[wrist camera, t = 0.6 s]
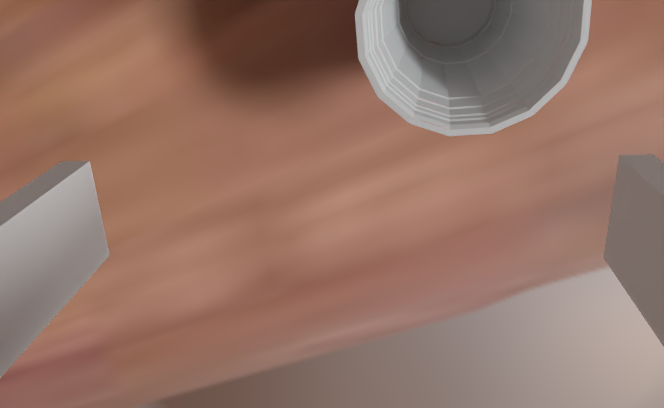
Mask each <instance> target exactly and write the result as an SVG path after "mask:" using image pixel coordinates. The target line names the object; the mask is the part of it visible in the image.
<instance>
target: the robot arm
mask: <svg viewBox="0 0 664 408" xmlns="http://www.w3.org/2000/svg"><path fill="white" fill-rule="evenodd" d="M109 256H110V255H109V250H108V246H107V241H106V236H105V231H104V227H103V222H102V217H101V212H100V208H99V203H98V198H97V193H96V189H95V184H94V179H93V174H92V170H91V165H90V161H61V162H60V163H58V164H57V165H55V166H54V167H52V168H51V169H49V170H48V171H46V172H45V173H43V174H42V175H40V176H39V177H37V178H36V179H34V180H33V181H31V182H30V183H28V184H27V185H25V186H24V187H22V188H21V189H19V190H18V191H16V192H15V193H13V194H12V195H10V196H9V197H7V198H6V199H4V200H3V201H1V202H0V378H1V377H2V376H3V374H4V373H5V372H6V371H7V370H8V369H9V368H10V367H11V365H12V364H13V363H14V362H15V361H16V360H17V359H18V358H19V356H20V355H21V354H22V353H23V352H24V351H25V350H26V349H27V348H28V346H29V345H30V344H31V343H32V342H33V341H34V340H35V339H36V337H37V336H38V335H39V334H40V333H41V332H42V331H43V330H44V328H45V327H46V326H47V325H48V324H49V323H50V322H51V321H52V320H53V318H54V317H55V316H56V315H57V314H58V313H59V312H60V311H61V309H62V308H63V307H64V306H65V305H66V304H67V303H68V302H69V300H70V299H71V298H72V297H73V296H74V295H75V294H76V293H77V291H78V290H79V289H80V288H81V287H82V286H83V285H84V284H85V283H86V281H87V280H88V279H89V278H90V277H91V276H92V275H93V274H94V272H95V271H96V270H97V269H98V268H99V267H100V266H101V265H102V263H103V262H104V261H105V260H106V259H107V258H108V257H109ZM604 259H605V261H606V262H607V263H608V265H609V266H610V268H611V269H612V271H613V272H614V274H615V275H616V277H617V278H618V280H619V281H620V283H621V284H622V286H623V287H624V288H625V290H626V291H627V293H628V294H629V296H630V297H631V299H632V300H633V302H634V303H635V305H636V306H637V308H638V309H639V311H640V312H641V314H642V315H643V317H644V318H645V320H646V321H647V322H648V324H649V325H650V327H651V328H652V330H653V331H654V333H655V334H656V336H657V337H658V339H659V340H660V342H661V343H662V345H663V346H664V163H663V162H662V161H660V160H659V159H658V158H657V157H655V156H654V155H619V160H618V166H617V173H616V179H615V186H614V192H613V199H612V206H611V212H610V219H609V225H608V232H607V238H606V245H605V252H604Z"/></svg>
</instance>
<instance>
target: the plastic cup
mask: <svg viewBox="0 0 664 408" xmlns="http://www.w3.org/2000/svg"><path fill="white" fill-rule="evenodd" d="M591 3H592V0H359V2H358V5H357V8H356V12H355V23H356V36H357V48H358V59H359V61H360V63H361V65H362V67H363V69H364V71H365V73H366V75H367V77H368V79H369V81H370V83H371V85H372V87H373V89H374V91H375V93H376V94H377V96H378V97H379V98H380V99H381V100H382V101H383V102H384V103H386V104H387V105H388V106H389V107H390V108H392V109H393V110H394V111H395V112H396V113H398V114H399V115H400V116H401V117H402V118H403V119H405V120H406V121H407V122H408V123H410V124H413V125H416V126H419V127H422V128H425V129H428V130H431V131H434V132H438V133H441V134H444V135H447V136H459V135H476V134H492V133H494V132H496V131H499V130H501V129H503V128H506V127H508V126H510V125H512V124H515V123H517V122H519V121H522V120H524V119H526V118H529V117H531V116H533V115H534V114H535V113H536V112H537V111H538V110H539V109H540V108H541V107H542V106H544V105H545V104H546V103H547V102H548V101H549V100H550V99H551V98H552V97H553V96H554V95H555V94H556V93H557V92H558V91H560V90H561V89H562V88H563V87H564V86H565V85H566V84H567V82H568V80H569V78H570V76H571V74H572V72H573V70H574V68H575V66H576V64H577V62H578V60H579V58H580V56H581V54H582V52H583V50H584V48H585V46H586V44H587V42H588V35H589V24H590V14H591Z"/></svg>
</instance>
